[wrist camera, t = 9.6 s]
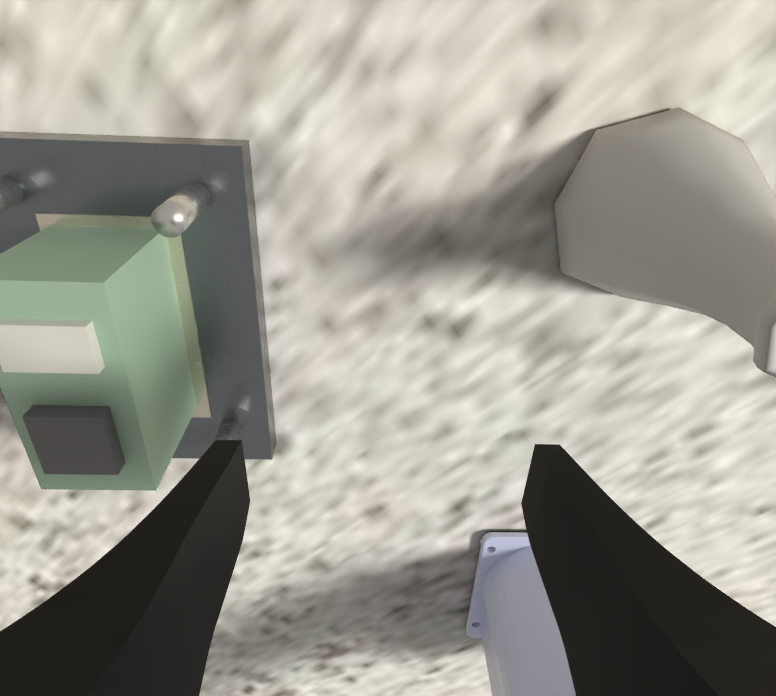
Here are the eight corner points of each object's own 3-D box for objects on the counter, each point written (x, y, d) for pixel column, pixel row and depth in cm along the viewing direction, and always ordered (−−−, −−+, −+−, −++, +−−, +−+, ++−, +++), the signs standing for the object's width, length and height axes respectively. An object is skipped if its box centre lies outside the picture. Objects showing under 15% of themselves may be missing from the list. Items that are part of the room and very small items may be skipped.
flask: (773, 113, 19) (1109, 175, 10) (699, 297, 22) (901, 457, 14) (575, 99, 18) (749, 151, 10) (533, 288, 22) (633, 448, 13)
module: (196, 406, 23) (149, 503, 18) (103, 404, 23) (31, 502, 18) (164, 227, 19) (93, 291, 14) (51, 224, 19) (-60, 287, 14)
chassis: (276, 442, 26) (260, 508, 22) (68, 439, 26) (17, 505, 22) (248, 140, 19) (218, 164, 15) (-39, 130, 18) (-140, 152, 15)
